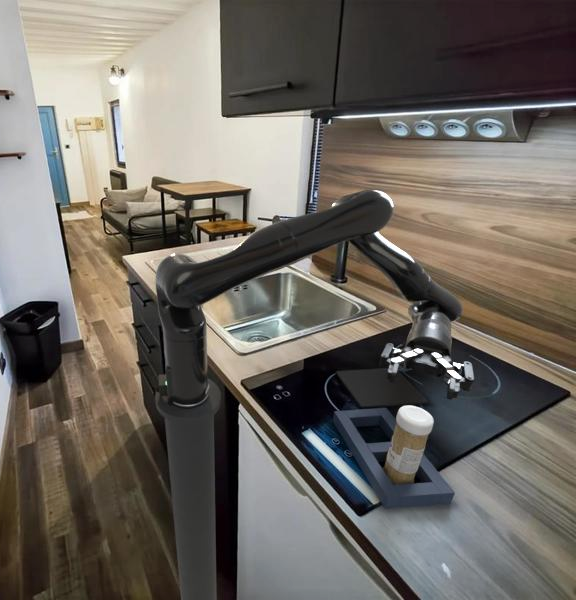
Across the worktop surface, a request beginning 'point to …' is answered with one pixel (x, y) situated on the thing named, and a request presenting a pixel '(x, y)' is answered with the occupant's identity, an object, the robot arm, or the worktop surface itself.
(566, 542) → the worktop surface
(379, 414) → the holder
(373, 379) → the mat
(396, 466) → the sprinkles bottle
